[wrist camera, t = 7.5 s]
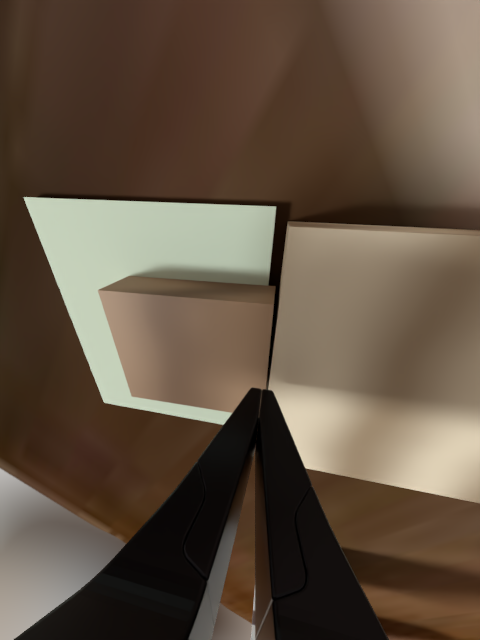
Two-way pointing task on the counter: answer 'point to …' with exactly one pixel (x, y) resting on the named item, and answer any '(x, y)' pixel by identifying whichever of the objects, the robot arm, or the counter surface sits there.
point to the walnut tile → (190, 338)
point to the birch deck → (382, 353)
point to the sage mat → (145, 266)
